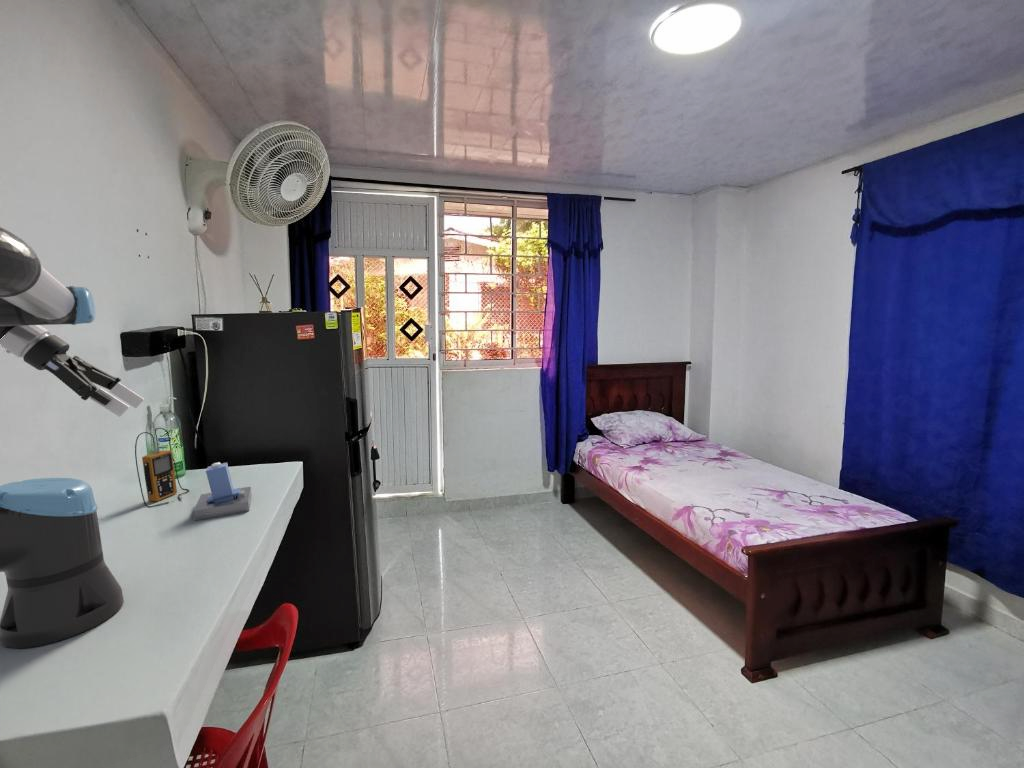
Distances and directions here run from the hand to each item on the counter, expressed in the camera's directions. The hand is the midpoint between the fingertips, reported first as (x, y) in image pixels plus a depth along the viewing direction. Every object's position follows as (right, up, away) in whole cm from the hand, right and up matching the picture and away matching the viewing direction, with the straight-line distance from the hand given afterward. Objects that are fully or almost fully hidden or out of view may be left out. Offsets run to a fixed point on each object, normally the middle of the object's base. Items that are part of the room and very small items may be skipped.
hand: (133, 407), depth 114 cm
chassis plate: (+11, -27, +18) cm, 34 cm away
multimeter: (-9, -27, +27) cm, 40 cm away
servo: (+11, -27, +18) cm, 34 cm away
